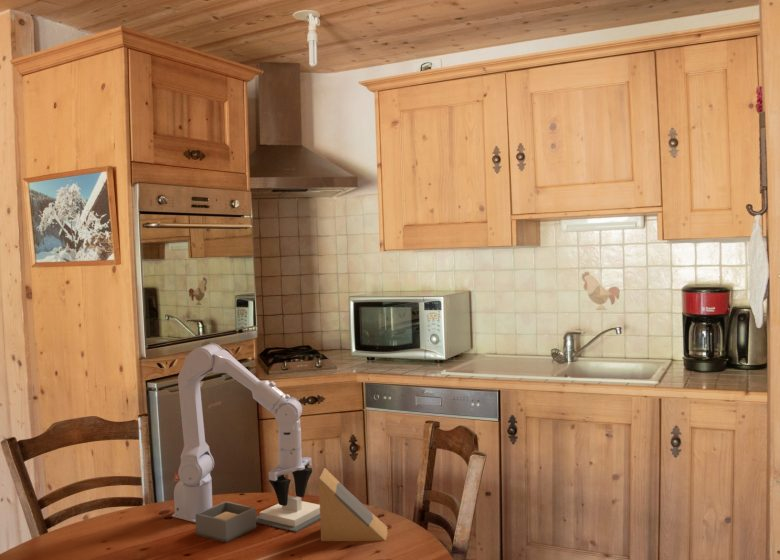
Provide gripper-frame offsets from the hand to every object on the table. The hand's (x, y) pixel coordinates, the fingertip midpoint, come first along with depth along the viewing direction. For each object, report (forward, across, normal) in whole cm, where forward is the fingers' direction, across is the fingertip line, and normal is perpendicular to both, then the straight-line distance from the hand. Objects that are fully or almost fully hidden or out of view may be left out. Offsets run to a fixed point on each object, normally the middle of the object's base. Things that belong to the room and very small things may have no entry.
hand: (291, 500), depth 178 cm
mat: (+4, 0, 0) cm, 4 cm away
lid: (+4, 0, 0) cm, 4 cm away
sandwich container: (+4, -1, -20) cm, 21 cm away
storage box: (+4, -15, +8) cm, 17 cm away
